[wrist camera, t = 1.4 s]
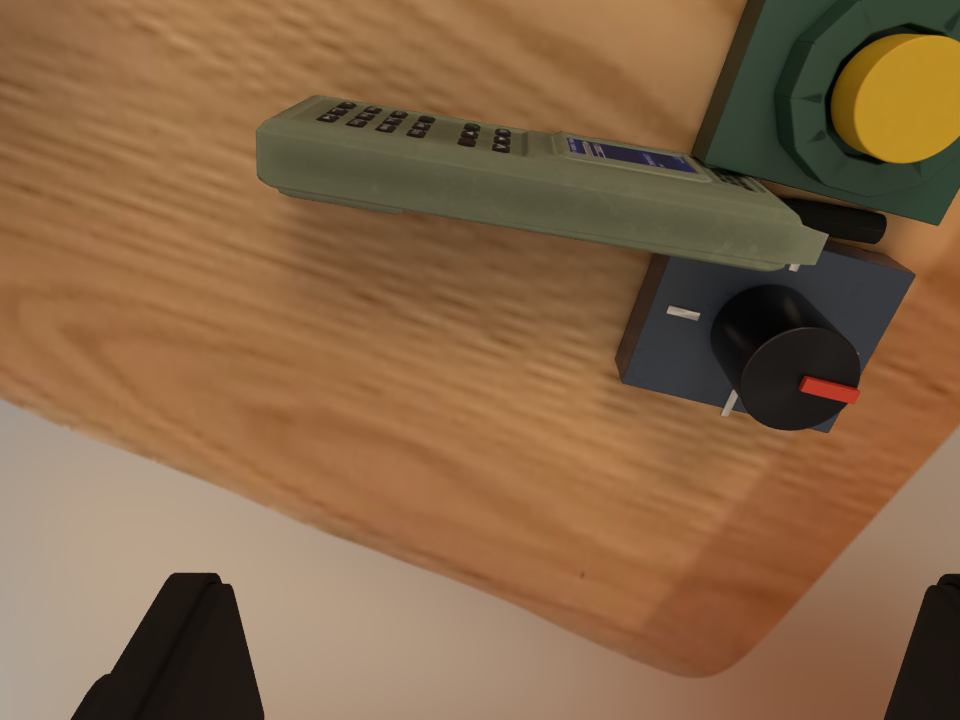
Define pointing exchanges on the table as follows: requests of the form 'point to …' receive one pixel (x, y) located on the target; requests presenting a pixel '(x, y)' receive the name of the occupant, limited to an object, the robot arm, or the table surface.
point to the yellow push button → (900, 98)
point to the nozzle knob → (784, 358)
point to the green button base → (820, 104)
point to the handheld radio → (544, 185)
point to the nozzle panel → (710, 286)
